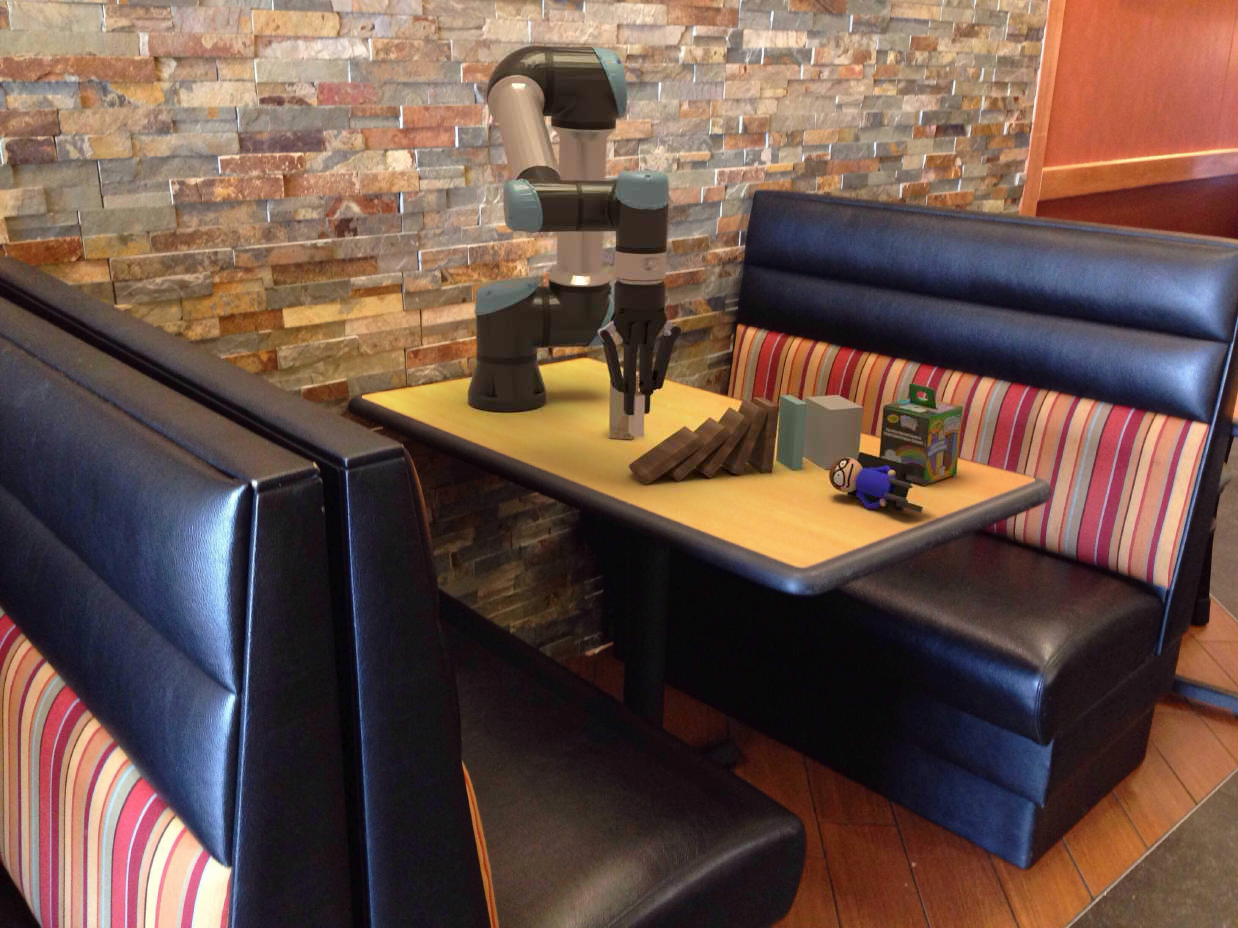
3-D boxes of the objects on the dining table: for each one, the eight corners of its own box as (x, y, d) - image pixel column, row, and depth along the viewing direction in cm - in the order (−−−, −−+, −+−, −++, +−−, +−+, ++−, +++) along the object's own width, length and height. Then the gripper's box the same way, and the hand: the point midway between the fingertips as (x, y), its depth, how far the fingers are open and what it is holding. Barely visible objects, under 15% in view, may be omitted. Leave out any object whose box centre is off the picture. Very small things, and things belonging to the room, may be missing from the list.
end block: (801, 455, 184) (805, 397, 181) (832, 451, 186) (837, 394, 183) (825, 469, 177) (830, 410, 174) (857, 466, 179) (863, 407, 176)
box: (632, 440, 190) (634, 378, 187) (608, 438, 191) (609, 376, 188) (638, 432, 195) (639, 371, 192) (614, 430, 196) (615, 369, 192)
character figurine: (907, 528, 155) (821, 500, 165) (936, 512, 159) (850, 486, 170) (910, 476, 152) (822, 451, 162) (939, 462, 156) (852, 439, 167)
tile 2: (672, 474, 169) (724, 426, 170) (658, 463, 174) (709, 417, 175) (678, 481, 170) (730, 434, 171) (664, 470, 175) (715, 424, 176)
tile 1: (641, 476, 168) (699, 435, 169) (628, 465, 172) (684, 426, 174) (646, 485, 168) (704, 444, 170) (633, 474, 173) (689, 434, 175)
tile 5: (762, 473, 175) (769, 406, 172) (746, 462, 180) (753, 397, 177) (772, 472, 175) (779, 406, 172) (756, 462, 180) (763, 397, 177)
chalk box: (957, 476, 176) (968, 386, 171) (923, 487, 170) (934, 395, 165) (909, 461, 182) (918, 374, 178) (874, 472, 177) (883, 382, 172)
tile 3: (702, 472, 171) (745, 416, 171) (688, 462, 176) (729, 406, 176) (710, 478, 172) (752, 422, 171) (696, 467, 177) (736, 413, 176)
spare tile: (792, 470, 177) (797, 404, 173) (775, 460, 182) (780, 395, 178) (802, 469, 177) (807, 403, 174) (785, 459, 182) (790, 395, 179)
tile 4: (731, 472, 173) (759, 408, 171) (716, 462, 178) (743, 399, 176) (741, 475, 174) (768, 411, 172) (726, 465, 179) (752, 402, 177)
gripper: (606, 286, 155) (603, 445, 163) (691, 282, 160) (684, 438, 167) (589, 278, 162) (587, 431, 169) (671, 275, 166) (666, 424, 174)
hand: (636, 434), depth 168 cm, fingers closed
